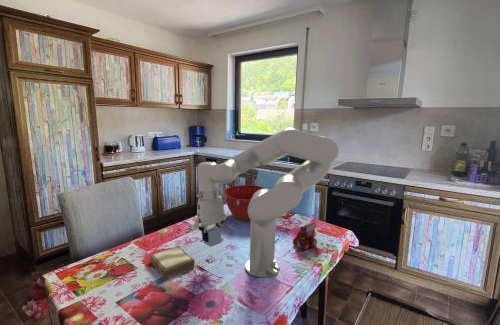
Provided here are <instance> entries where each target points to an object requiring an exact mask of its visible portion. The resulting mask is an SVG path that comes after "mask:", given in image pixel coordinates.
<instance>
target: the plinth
mask: <svg viewBox="0 0 500 325" xmlns="http://www.w3.org/2000/svg"><path fill="white" fill-rule="evenodd" d="M149 256H150V257H149V258H150V259H149V260H150V263H151V264H152V265H153V267H154V268H155V269H156V270H157V271H158V273H160V275H161V276H162V277H163V279H167V278H170V277H173V276H174V275H178V274H179V273H183V272H185V271H187V270H190V269H192V268H195V259H194V258H193V257H192V256H191V255H190V254H188V253H187V252H186V251H185V250H184V249H183V248H181V247H180V246H179V245H177V246H174V247H170V248H168V249H165V250H161V251H158V252H156V253H152V254H150V255H149Z"/></svg>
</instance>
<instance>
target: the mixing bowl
mask: <svg viewBox="0 0 500 325" xmlns="http://www.w3.org/2000/svg"><path fill="white" fill-rule="evenodd" d="M260 189H268V190H270V189H269V188H267V187H263V186H259V185H252V184H249V185H248V184H242V185H234V186H233V185H232V186H230V187H229V186H228V187H227V188H225V189H224V190H223V192H222V193H223V196H224V200H225V203H226V205H227V208H228V210H229V211H230V213H231V215H232V216H233V217H235V218H236V219H237V220H240V221H246V222H248V221H250V222H251V219H250V218H249V216H248V206H249V203H250V201H251V198H252V196H253V195H254V193H255V192H257V191H258V190H260Z"/></svg>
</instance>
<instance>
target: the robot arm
mask: <svg viewBox="0 0 500 325" xmlns="http://www.w3.org/2000/svg"><path fill="white" fill-rule="evenodd" d="M285 156H290V157H294V158H298V159H301V160H305V161H304V162H303V163H301V164H300V165H299V166H297V167H296V168H295V169H293V170H291V171H290V172H288V173H286V174H285V175H283V176H281V177H280V178H278V179H277V181H276V183H275V185H274V187H272V188H270V189H269V188H267V189H260V190H258V191H257V192H255V193H254V195H253V196H252V198H251V201H250V203H249V206H248V216H249V218H250V219H251V221H250V229H249V230H250V232H249V235H250V236H249V260H247V261H246V262H245V267H244V268H245V271H246V272H247V273H248V274H249V275H251V276H252V277H256V278H269V277H272V276H274V277H277V276H278V275H279V272H280V271H281V267H278V264H277V260H276V259H275V246H276V244H275V243H276V227H277V226H276V222H277V219H278V218H280V217H282V216H283V215H285V214H287V213H288V212H290V211H292V210H293V209H295V208H296V207H297V206H298V205H299V204H300V203H301V201H302V199H303V193H305V192H306V191H307V190H309V189H311V188H312V187H313V186H315V185H317V184H318V183H319V182H321V181H322V180H323V179H324V178H325V177H326V176H327V174H328V172H329V171H330V169H331V166H332V164H333V163H334V161H335V160H336V159H337V157H338V156H339V146H338V144H337V142H336V141H334V140H333V139H331V137H328V136H325V135H317V134H312V133H309V132H308V133H307V132H304V131H301V130H298V129H297V128H294V127H286V128H284V129H282V130H280V131H278V132H276V133H275V134H272V135H270V136H269V137H267V138H265V139H263V140H261V141H259V142H257V143H255V144H253V145H252V146H251V147H249V148H248V149H246V150H244V151H243V152H239V153H238V154H236V155H235V156H232V157H231V158H228V159H227V160H225V161H223V162H222V163H218V164H217V163H216V162H215V161H203V162H200V163H199V164H198V165H197V178H198V179H197V180H198V193H197V194H196V198H198V199H197V205H196V220H195V222H194V224H193V228H195V229H198V230H199V231H201V239H202V241H203V240H204V241H205V242H208V232H207V227H208V226H211V225H214V224H215V226H217V227H219V228H220V230H221V231H222V228H223V224H224V222H225V221H226V219H227V217H228V216H227V214H226V213H225V208H224V202H223V199H222V196H221V195H220V185H219V184H224V185H225V184H230V183H232V182H234V181H235V180H236V178H237V177H238V176H240V175H242V174H244V173H246V172H247V171H250V170H252V169H254V168H256V167H264V166H267V165H270V164H271V163H274V162H275V161H277V160H279V159H281V158H284V157H285ZM268 189H269V190H268ZM204 241H203V242H204Z"/></svg>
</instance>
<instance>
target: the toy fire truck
mask: <svg viewBox="0 0 500 325" xmlns="http://www.w3.org/2000/svg"><path fill="white" fill-rule="evenodd" d="M315 229H316V223H315V222H311V223H308V224H305V225H304V226H301V227H300V230H298V231H297V234H296V236H295V237H294V238H293V240H292V245H293V246H294V247H295V248H301V249H302V250H303V251H308V250H310V249H309V248H310V247H311V248H315V247H316V246H317V243H318V241H317V239H316V238H315Z"/></svg>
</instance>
